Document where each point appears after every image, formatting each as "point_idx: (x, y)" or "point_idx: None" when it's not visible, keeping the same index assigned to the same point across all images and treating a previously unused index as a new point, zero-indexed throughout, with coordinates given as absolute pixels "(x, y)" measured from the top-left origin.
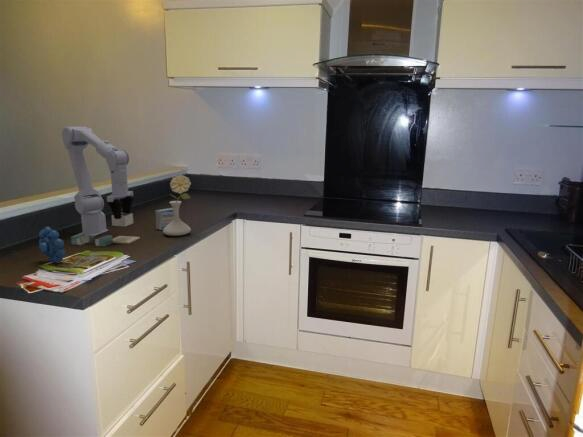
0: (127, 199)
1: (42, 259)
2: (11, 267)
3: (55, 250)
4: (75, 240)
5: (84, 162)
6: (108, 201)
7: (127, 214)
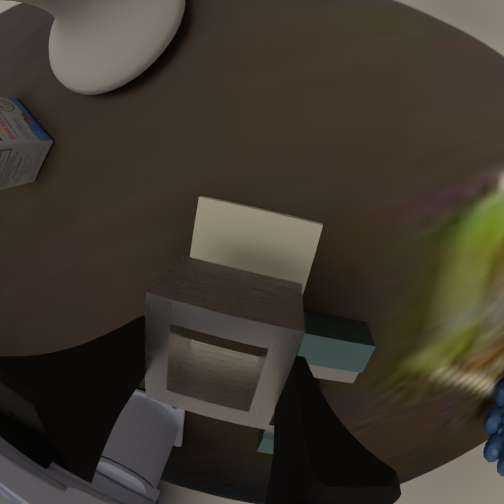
0: (65, 435)
1: (460, 422)
2: None
3: None
4: None
5: None
6: None
7: (213, 327)
